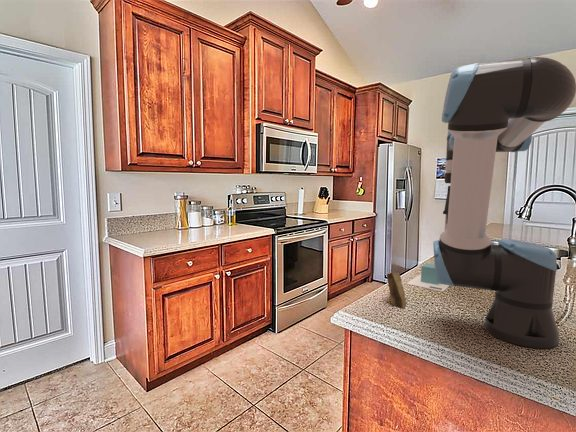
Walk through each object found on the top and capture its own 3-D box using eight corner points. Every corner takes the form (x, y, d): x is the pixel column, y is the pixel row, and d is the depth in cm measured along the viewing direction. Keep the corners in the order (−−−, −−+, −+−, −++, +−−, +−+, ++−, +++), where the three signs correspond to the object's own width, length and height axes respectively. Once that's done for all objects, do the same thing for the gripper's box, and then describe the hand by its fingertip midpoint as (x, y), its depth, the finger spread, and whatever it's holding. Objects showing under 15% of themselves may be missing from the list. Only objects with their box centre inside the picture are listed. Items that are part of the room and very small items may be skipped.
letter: (443, 291, 112) (443, 291, 112) (405, 283, 121) (405, 283, 121) (456, 279, 126) (456, 279, 126) (421, 273, 134) (422, 273, 134)
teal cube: (437, 284, 119) (438, 269, 119) (420, 281, 123) (421, 266, 123) (442, 281, 124) (442, 265, 123) (425, 277, 128) (426, 263, 127)
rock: (389, 285, 112) (373, 287, 105) (405, 269, 108) (389, 270, 101) (410, 311, 105) (394, 316, 99) (429, 295, 101) (413, 298, 95)
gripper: (452, 173, 128) (449, 227, 130) (436, 171, 109) (433, 233, 111) (474, 173, 124) (470, 228, 126) (461, 170, 104) (457, 236, 106)
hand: (453, 231), depth 118 cm, fingers open, 13 cm apart
